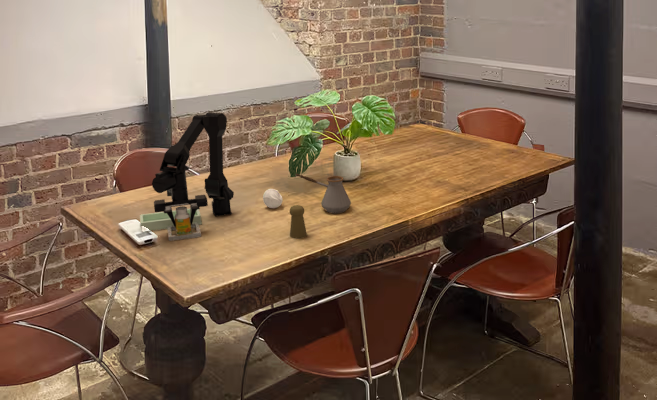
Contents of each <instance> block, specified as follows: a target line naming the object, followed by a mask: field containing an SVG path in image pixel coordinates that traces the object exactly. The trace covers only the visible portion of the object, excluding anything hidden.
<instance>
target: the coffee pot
mask: <svg viewBox="0 0 657 400" xmlns="http://www.w3.org/2000/svg"><path fill="white" fill-rule="evenodd" d="M294 176H295V177H294V178H296V177H299V178H301V179H304V180H306V181H308V182H311V183H313V184H314V183H315V184H318V185H319V186H323V187H325V188H326V190H325V193H324V195H323V198H322V201H321V203H320V204H321V206H322V208H323V209H324V210H325V211H326V212H327V213H329V214H342V213H344V212H346V211H347V210H348V209H349V207H350V206H351V204H352V201H351V199H350V197H349V195H348V193H347V191H346V189H345V186H344V185H343V181H344V177H343V176H339V175H332V176H328V177H326V181H327V182H328V184H326V183H323V182H320V181H318V180H316V179H314V178H311V177H308V176H304V175H303V174H300V173H295V175H294Z"/></svg>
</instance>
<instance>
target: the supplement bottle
mask: <svg viewBox="0 0 657 400" xmlns="http://www.w3.org/2000/svg"><path fill="white" fill-rule="evenodd" d="M187 209H188V208H187V206H185V205H183V206H176V208H175V210H176V213H177V214H175V224H176V230H175V231H176V232H175V233H176V235H179V234H187V233H192V228H191V223H190V214H189V213H187Z"/></svg>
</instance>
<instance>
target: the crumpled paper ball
mask: <svg viewBox="0 0 657 400" xmlns="http://www.w3.org/2000/svg"><path fill="white" fill-rule="evenodd" d="M262 195H263V196H262V201H263V204H264V205H265V206H266V207H268V208H270V209H277V208H279V207H280V206H281V205H282V203H283V200H284V199H283V196H282V195H281V193H280V192H279V190H277V189H275V188H268V189H266V190H265V191H264V193H263V194H262Z"/></svg>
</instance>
